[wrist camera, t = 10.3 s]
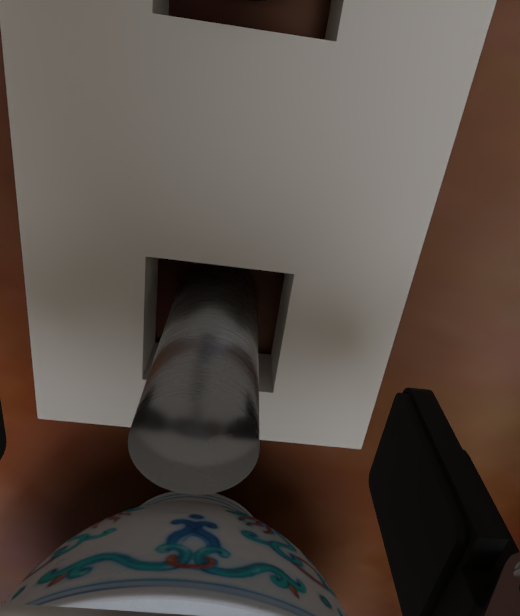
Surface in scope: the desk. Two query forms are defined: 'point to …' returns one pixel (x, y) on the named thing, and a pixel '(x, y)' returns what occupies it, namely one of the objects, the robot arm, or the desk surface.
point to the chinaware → (181, 565)
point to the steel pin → (202, 387)
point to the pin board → (229, 188)
